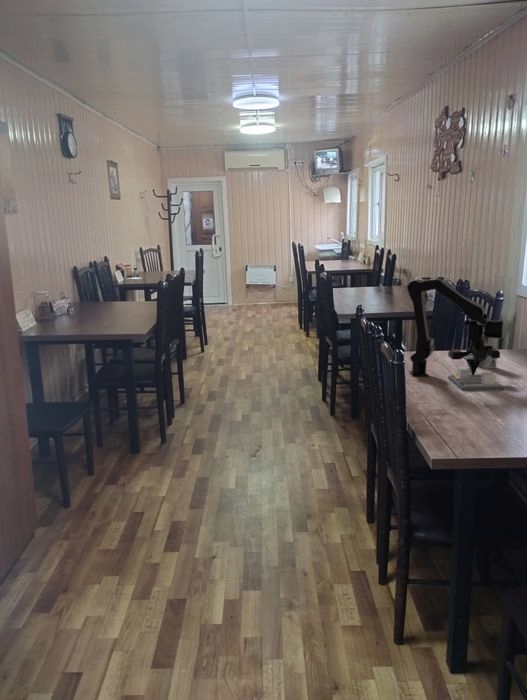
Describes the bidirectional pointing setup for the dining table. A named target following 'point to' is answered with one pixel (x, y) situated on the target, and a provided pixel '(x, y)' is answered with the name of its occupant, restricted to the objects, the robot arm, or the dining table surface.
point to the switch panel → (473, 383)
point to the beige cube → (488, 378)
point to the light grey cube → (463, 372)
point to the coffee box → (489, 361)
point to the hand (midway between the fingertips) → (472, 374)
